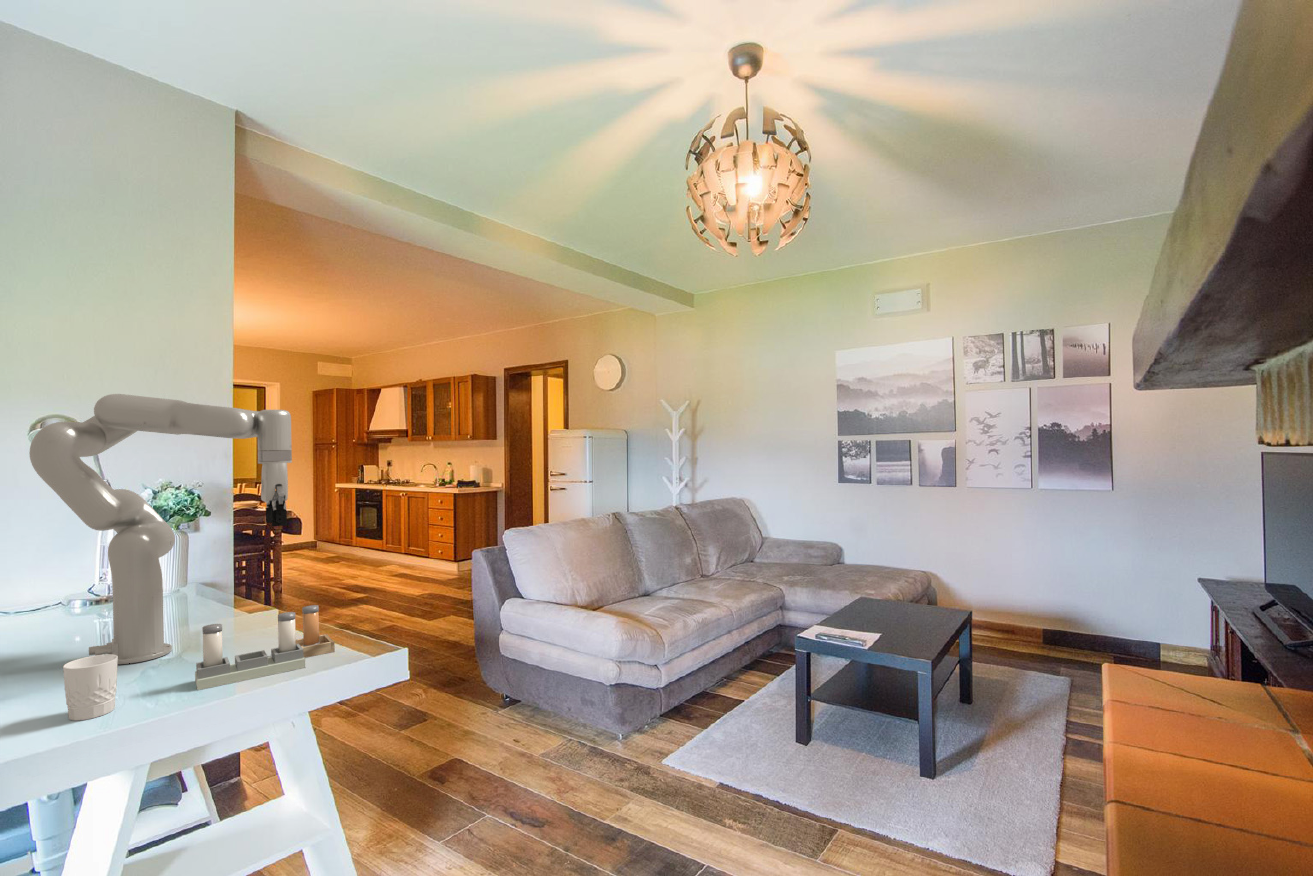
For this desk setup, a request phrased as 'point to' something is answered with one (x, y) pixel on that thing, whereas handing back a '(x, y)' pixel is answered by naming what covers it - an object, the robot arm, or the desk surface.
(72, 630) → the desk surface
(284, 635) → the cylinder
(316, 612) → the cylinder
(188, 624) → the desk surface
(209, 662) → the cylinder
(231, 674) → the fuse holder
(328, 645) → the tray
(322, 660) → the desk surface
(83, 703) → the white cup
